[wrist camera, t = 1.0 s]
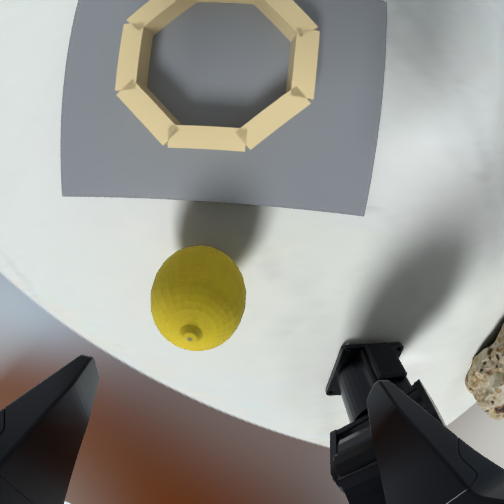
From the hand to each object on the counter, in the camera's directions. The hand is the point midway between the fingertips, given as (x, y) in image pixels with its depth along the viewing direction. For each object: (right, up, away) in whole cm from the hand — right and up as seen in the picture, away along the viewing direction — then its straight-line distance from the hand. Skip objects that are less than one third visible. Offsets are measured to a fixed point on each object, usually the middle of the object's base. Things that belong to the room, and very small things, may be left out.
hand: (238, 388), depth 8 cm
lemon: (-3, +3, +13) cm, 14 cm away
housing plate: (-2, +15, +8) cm, 17 cm away
